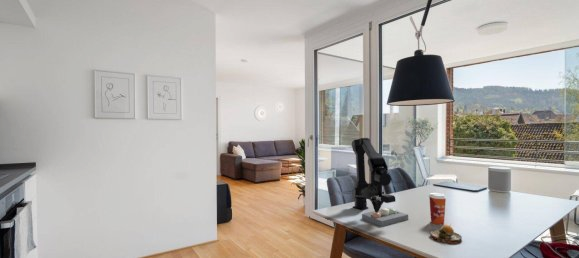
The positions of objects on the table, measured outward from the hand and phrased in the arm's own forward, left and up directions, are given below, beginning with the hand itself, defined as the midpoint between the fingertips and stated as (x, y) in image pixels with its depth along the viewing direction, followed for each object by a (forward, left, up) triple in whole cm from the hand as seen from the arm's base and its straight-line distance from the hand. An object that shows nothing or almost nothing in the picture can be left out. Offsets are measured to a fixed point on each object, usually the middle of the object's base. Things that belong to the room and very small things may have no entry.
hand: (376, 212), depth 141 cm
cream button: (0, +6, -3) cm, 7 cm away
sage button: (0, +12, -4) cm, 13 cm away
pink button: (0, 0, -4) cm, 4 cm away
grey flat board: (0, +6, -4) cm, 7 cm away
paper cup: (+17, +23, -4) cm, 29 cm away
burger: (+30, +8, -5) cm, 32 cm away
